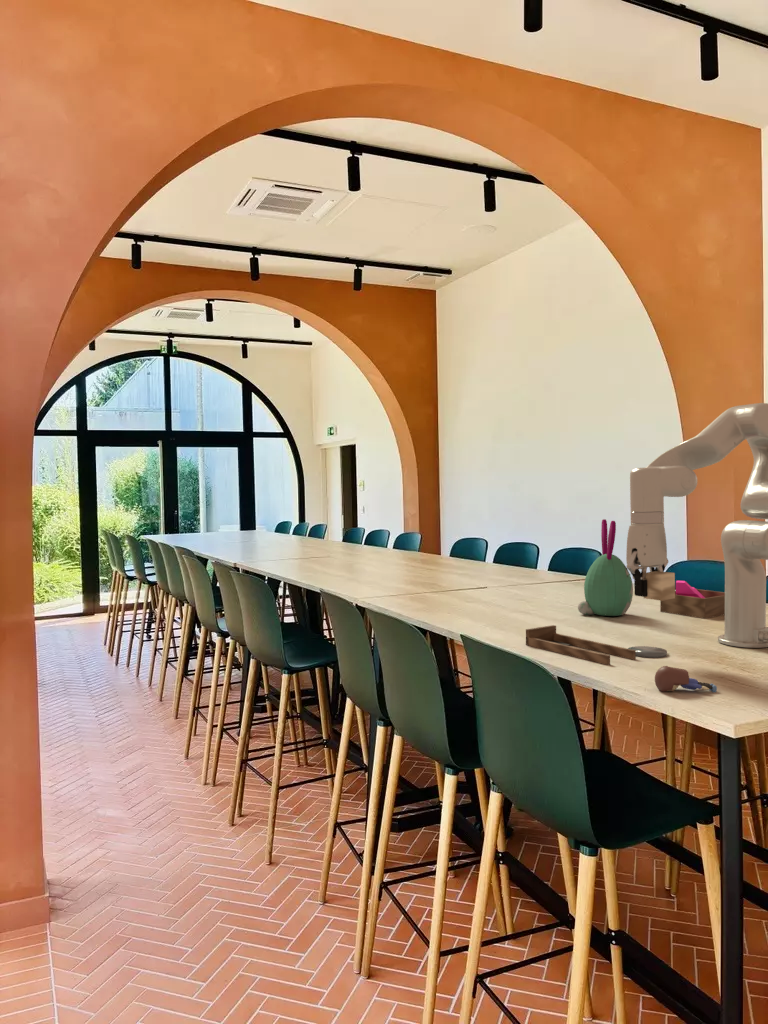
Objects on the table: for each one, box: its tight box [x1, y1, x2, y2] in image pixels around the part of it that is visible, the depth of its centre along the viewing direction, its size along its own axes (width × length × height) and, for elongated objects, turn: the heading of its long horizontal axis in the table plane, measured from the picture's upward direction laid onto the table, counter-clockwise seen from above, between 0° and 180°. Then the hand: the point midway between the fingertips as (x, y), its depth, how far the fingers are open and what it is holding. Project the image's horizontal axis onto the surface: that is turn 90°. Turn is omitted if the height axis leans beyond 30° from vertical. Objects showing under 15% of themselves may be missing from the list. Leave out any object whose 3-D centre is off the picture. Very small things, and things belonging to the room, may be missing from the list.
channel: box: [525, 624, 637, 666], centre depth 182 cm, size 26×10×4 cm, turn 34°
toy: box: [577, 518, 634, 617], centre depth 233 cm, size 15×17×30 cm
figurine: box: [654, 665, 718, 693], centre depth 147 cm, size 5×5×12 cm
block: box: [643, 571, 676, 601], centre depth 175 cm, size 5×5×6 cm
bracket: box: [675, 580, 705, 598], centre depth 238 cm, size 12×10×10 cm
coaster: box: [627, 645, 668, 659], centre depth 179 cm, size 9×9×1 cm
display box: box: [659, 588, 725, 619], centre depth 237 cm, size 15×17×6 cm
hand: (648, 593), depth 177 cm, fingers closed on block, 5 cm apart
